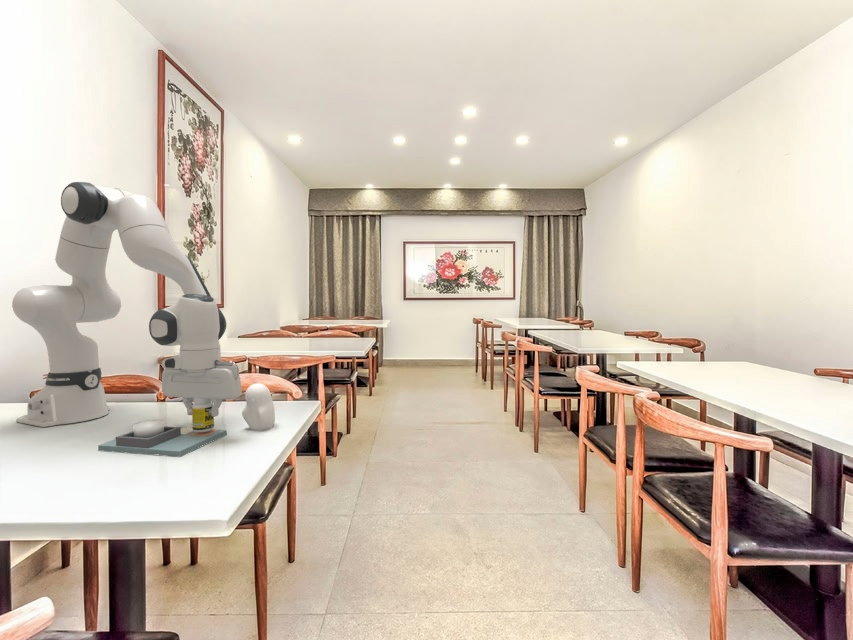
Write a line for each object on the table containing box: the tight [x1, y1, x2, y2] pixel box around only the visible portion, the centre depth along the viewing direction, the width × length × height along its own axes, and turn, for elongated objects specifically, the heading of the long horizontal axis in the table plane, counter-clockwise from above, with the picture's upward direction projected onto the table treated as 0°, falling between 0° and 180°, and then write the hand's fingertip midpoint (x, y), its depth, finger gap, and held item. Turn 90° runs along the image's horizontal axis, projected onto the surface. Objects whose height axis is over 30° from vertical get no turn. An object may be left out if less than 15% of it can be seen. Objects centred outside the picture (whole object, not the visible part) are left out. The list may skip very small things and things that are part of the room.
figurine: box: [241, 383, 276, 431], centre depth 111 cm, size 7×8×12 cm
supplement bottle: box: [191, 398, 215, 432], centre depth 103 cm, size 5×5×8 cm
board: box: [97, 425, 228, 457], centre depth 100 cm, size 22×15×3 cm
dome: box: [132, 419, 165, 438], centre depth 98 cm, size 6×6×4 cm
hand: (203, 415), depth 103 cm, fingers closed on supplement bottle, 5 cm apart
